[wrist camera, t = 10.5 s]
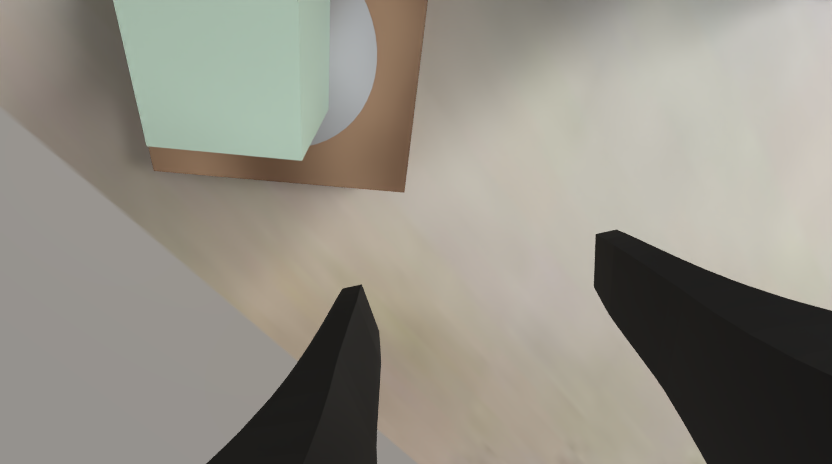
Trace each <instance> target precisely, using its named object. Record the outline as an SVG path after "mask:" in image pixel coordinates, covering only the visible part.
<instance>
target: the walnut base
mask: <svg viewBox="0 0 832 464" xmlns="http://www.w3.org/2000/svg"><path fill="white" fill-rule="evenodd" d="M427 2H428V0H330V44H329V109H328V111H327V113H326V115H325V117H324V119H323V121H322V123H321V125H320V127H319V129H318V131H317V133H316V135H315V136H314V138H313V140H312V142H311V144H310V146H309V148H308V150H307V152H306V154H305V156H304V158H303V160H302V161H298V160H288V159H277V158H267V157H256V156H245V155H235V154H224V153H214V152H203V151H192V150H182V149H171V148H161V147H150V146H148V147H149V151H150V156H151V160H152V165H153V169H154V171H162V172H173V173H185V174H196V175H208V176H220V177H231V178H243V179H254V180H266V181H277V182H289V183H301V184H312V185H324V186H335V187H347V188H359V189H370V190H382V191H393V192H404V190H405V182H406V174H407V166H408V158H409V150H410V141H411V133H412V125H413V117H414V109H415V101H416V92H417V84H418V76H419V68H420V60H421V51H422V43H423V35H424V27H425V19H426V11H427Z"/></svg>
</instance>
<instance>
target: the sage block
mask: <svg viewBox="0 0 832 464" xmlns="http://www.w3.org/2000/svg"><path fill="white" fill-rule="evenodd" d="M113 2H114V7H115V11H116V15H117V20H118V24H119V28H120V33H121V37H122V41H123V46H124V50H125V54H126V59H127V63H128V68H129V72H130V76H131V81H132V85H133V89H134V94H135V98H136V102H137V107H138V111H139V115H140V120H141V124H142V128H143V133H144V137H145V141H146V146H150V147H161V148H171V149H182V150H192V151H203V152H214V153H224V154H235V155H245V156H256V157H267V158H277V159H288V160H298V161H302V160H303V158H304V156H305V154H306V152H307V150H308V148H309V146H310V144H311V142H312V140H313V138H314V136H315V135H316V133H317V131H318V129H319V127H320V125H321V123H322V121H323V119H324V117H325V115H326V113H327V111H328V109H329V44H330V0H113Z"/></svg>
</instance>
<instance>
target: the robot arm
mask: <svg viewBox="0 0 832 464" xmlns="http://www.w3.org/2000/svg"><path fill="white" fill-rule="evenodd" d="M594 288H595V290H596V291H597V293H598V295H599V297H600V299H601V301H602V303H603V305H604V306H605V308H606V310H607V312H608V313H609V315H610V316H611V318H612V319H613V321H614V322H615V323H616V325H617V326H618V328H619V329H620V330H621V332H622V333H623V334H624V336H625V337H626V338H627V340H628V341H629V343H630V344H631V345H632V347H633V348H634V349H635V351H636V352H637V353H638V355H639V356H640V357H641V359H642V360H643V361H644V363H645V364H646V365H647V367H648V368H649V369H650V371H651V372H652V373H653V375H654V376H655V378H656V379H657V380H658V382H659V383H660V385H661V386H662V388H663V389H664V391H665V392H666V394H667V396H668V397H669V399H670V401H671V402H672V404H673V406H674V407H675V409H676V411H677V412H678V414H679V416H680V417H681V419H682V421H683V422H684V424H685V426H686V427H687V429H688V431H689V433H690V435H691V436H692V438H693V440H694V442H695V443H696V445H697V447H698V449H699V450H700V452H701V454H702V456H703V457H704V459H705V461H706V463H707V464H832V311H830V310H827V309H823V308H819V307H815V306H812V305H808V304H804V303H801V302H797V301H794V300H791V299H787V298H784V297H781V296H777V295H774V294H771V293H768V292H765V291H762V290H759V289H756V288H753V287H750V286H747V285H744V284H742V283H739V282H736V281H733V280H731V279H728V278H726V277H723V276H721V275H718V274H716V273H713V272H710V271H708V270H705V269H703V268H701V267H698V266H696V265H694V264H691V263H689V262H687V261H684V260H682V259H680V258H678V257H675V256H673V255H671V254H669V253H667V252H665V251H662V250H660V249H658V248H656V247H654V246H652V245H649V244H647V243H645V242H643V241H641V240H639V239H637V238H634V237H632V236H630V235H628V234H626V233H623V232H621V231H618V230H613V231H608V232H604V233H599V234H596V244H595V271H594ZM380 371H381V353H380V338H379V330H378V327H377V324H376V322H375V319H374V316H373V314H372V311H371V308H370V306H369V303H368V300H367V297H366V295H365V292H364V289H363V287H362V285H357V286H353V287H348V288H343V289H342V290H341V292H340V294H339V295H338V297H337V299H336V301H335V302H334V304H333V306H332V308H331V309H330V311H329V313H328V315H327V317H326V318H325V320H324V322H323V323H322V325H321V327H320V328H319V330H318V332H317V333H316V335H315V337H314V338H313V340H312V341H311V343H310V345H309V346H308V348H307V349H306V351H305V352H304V354H303V355H302V357H301V358H300V359H299V361H298V362H297V364H296V365H295V367H294V368H293V370H292V371H291V372H290V374H289V375H288V377H287V378H286V379H285V380H284V382H283V383H282V384H281V385H280V387H279V388H278V389H277V391H276V392H275V393H274V394H273V395H272V397H271V398H270V399H269V400H268V401H267V402H266V403H265V405H264V406H263V407H262V408H261V409H260V410H259V411H258V412H257V413H256V414H255V415H254V417H253V418H252V419H251V420H250V421H249V422H248V423H247V424H246V425H245V426H244V428H243V429H242V430H241V431H240V432H239V433H238V434H237V435H236V436H235V437H234V438H233V439H232V440H231V441H230V442H229V443H228V444H227V445H226V446H225V447H224V448H223V449H221V451H219V452H218V453H217V454H216V455H215V456H214V457H213V458H212V459H211V460H210V461H209V462H208V463H207V464H377V451H376V442H377V420H378V404H379V388H380Z"/></svg>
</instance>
